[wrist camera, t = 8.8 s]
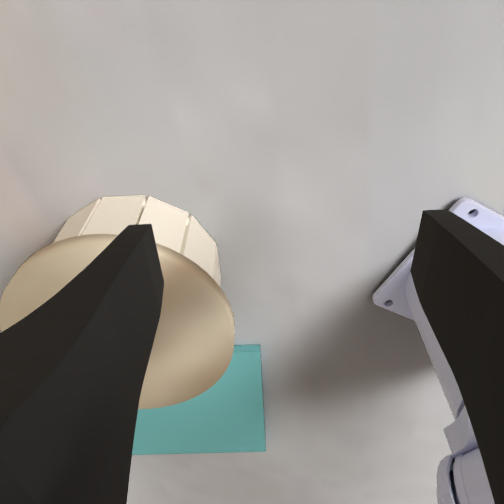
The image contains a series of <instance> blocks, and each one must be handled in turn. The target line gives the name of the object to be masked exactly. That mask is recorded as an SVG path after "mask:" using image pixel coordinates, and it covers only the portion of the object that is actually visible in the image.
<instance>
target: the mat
mask: <svg viewBox="0 0 504 504" xmlns="http://www.w3.org/2000/svg"><path fill="white" fill-rule="evenodd" d="M265 451H266V444H265V427H264V409H263V391H262V373H261V356H260V345H237V346H234V351H233V355H232V359H231V362H230V364H229V366H228V368H227V370H226V371H225V373H224V374H223V376H222V377H221V378H220V379H219V380H218V381H217V382H216V383H215V384H214V385H213V386H212V387H210V388H209V389H208V390H207V391H205V392H203V393H202V394H200V395H198V396H197V397H194V398H192V399H190V400H187V401H185V402H182V403H178V404H175V405H171V406H166V407H161V408H153V409H138V413H137V420H136V427H135V434H134V442H133V450H132V455H144V454H184V453H225V452H265Z"/></svg>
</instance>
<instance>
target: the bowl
mask: <svg viewBox="0 0 504 504" xmlns="http://www.w3.org/2000/svg"><path fill="white" fill-rule="evenodd" d="M188 214H189V213H188V212H186V211H184V210H181V209H179V208H177V207H174V206H172V205H169V204H167V203H165V202H162V201H160V200H158V199H155V198H153V197H151V196H149V197H148V198H146V197H145V195H136V196H113V197H102V199H100V198H98V199H97V200H95V201H94V202H92V203H91V204H89V205H88V206H86V207H85V208H83V209H82V210H80V211H78V212H77V213H75V214H74V215H72V216H71V217H69V219H68V220H67V221H66V223H65V224H64V226H63V227H62V229H61V231H60V232H59V234H58V235H57V237H56V239H55V240H54V242H57V241H60V240H63V239H66V238H70V237H75V236H81V235H90V234H115V235H119V234H120V233H121V232H122V231H123V230H124V229H125V228H126V227H127V226H128V225H138V224H152V229H153V233H154V238H155V242H156V243H157V244H160V245H163V246H165V247H168V248H170V249H172V250H174V251H176V252H178V253H180V254H182V255H184V256H185V257H187V258H188V259H190V260H192V261H193V262H195V263H196V264H197V265H199V266H200V267H201V268H202V269H203V270H205V271H206V272H207V273H208V274H209V275H210V276H211V277H212V278H213V279H214V280H215V281H216V282H217V284H218V285H219V286H220V280H221V274H220V265H219V257H218V248H217V246H216V243H215V242H214V241H213V239H212V238H211V237H210V236H209V235H208V233H207V232H206V231H205V230H204V229H203V228H202V226H201V225H200V224H199V223H198V222H197V220H196V219H195V218H194V217H193V216H192V215H191V216H189V215H188ZM54 242H53V243H54Z"/></svg>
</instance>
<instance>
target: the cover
mask: <svg viewBox="0 0 504 504" xmlns="http://www.w3.org/2000/svg"><path fill="white" fill-rule="evenodd" d="M117 236H118V235H115V234H90V235H81V236H75V237H70V238H66V239H63V240H60V241H57V242H54V243H52V244H50V245H48V246H45V247H43V248H41V249H40V250H38V251H37V252H35V253H34V254H33V255H31V256H30V257H29V258H28V259H27V260H26V261H25V262H24V263H23V264H22V265H21V266H20V268H19V269H18V271H17V272H16V273H15V275H14V276H13V278H12V279H11V281H10V282H9V284H8V285H7V287H6V288H5V290H4V293H3V295H2V297H1V301H0V328H1V332H3V331H4V330H6V329H8V328H9V327H11V326H12V325H14V324H15V323H17V322H19V321H20V320H22V319H23V318H24V317H26V316H27V315H29V314H30V313H31V312H33V311H34V310H35V309H37V308H38V307H40V306H41V305H42V304H44V303H45V302H46V301H47V300H49V299H50V298H51V297H53V296H54V295H55V294H56V293H58V292H59V291H60V290H61V289H62V288H63V287H64V286H66V285H67V284H68V283H69V282H70V281H71V280H72V279H73V278H75V277H76V276H77V275H78V274H79V273H80V272H81V271H82V270H84V269H85V268H86V267H87V266H88V265H89V264H90V263H91V262H92V261H93V260H94V259H95V258H96V257H97V256H98V255H99V254H100V253H101V252H102V251H103V250H104V249H105V248H106V247H107V246H108V245H109V244H110V243H111V242H112V241H113V240H114V239H115V238H116V237H117ZM156 247H157V252H158V256H159V261H160V265H161V270H162V274H163V279H164V290H163V299H162V307H161V315H160V319H159V323H158V327H157V331H156V335H155V339H154V343H153V347H152V350H151V354H150V358H149V362H148V366H147V370H146V374H145V377H144V381H143V385H142V390H141V395H140V400H139V406H138V409H153V408H161V407H166V406H171V405H175V404H178V403H182V402H185V401H187V400H190V399H192V398H194V397H197V396H198V395H200V394H202V393H203V392H205V391H207V390H208V389H209V388H210V387H212V386H213V385H214V384H215V383H216V382H217V381H218V380H219V379H220V378H221V377H222V376H223V374H224V373H225V371H226V370H227V368H228V366H229V364H230V362H231V359H232V355H233V351H234V332H235V323H234V316H233V312H232V309H231V306H230V303H229V301H228V299H227V297H226V295H225V293H224V292H223V291H222V289H221V288H220V286H219V285H218V284H217V282H216V281H215V280H214V279H213V278H212V277H211V276H210V275H209V274H208V273H207V272H206V271H205V270H203V269H202V268H201V267H200V266H199V265H197V264H196V263H195V262H193V261H192V260H190V259H188V258H187V257H185V256H184V255H182V254H180V253H178V252H176V251H174V250H172V249H170V248H168V247H165V246H163V245H160V244H157V243H156Z"/></svg>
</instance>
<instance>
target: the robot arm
mask: <svg viewBox="0 0 504 504" xmlns="http://www.w3.org/2000/svg"><path fill="white" fill-rule="evenodd" d="M473 209H475V211H474V212H473V213H471V214H468V213H469V211H471V210H473ZM163 290H164V279H163V274H162V270H161V265H160V261H159V256H158V252H157V247H156V242H155V238H154V233H153V229H152V224H138V225H128V226H127V227H126V228H125V229H124V230H123V231H122V232H121V233H120V234H119V235H118V236H117V237H116V238H115V239H114V240H113V241H112V242H111V243H110V244H109V245H108V246H107V247H106V248H105V249H104V250H103V251H102V252H101V253H100V254H99V255H98V256H97V257H96V258H95V259H94V260H93V261H92V262H91V263H90V264H89V265H88V266H87V267H86V268H85V269H84V270H82V271H81V272H80V273H79V274H78V275H77V276H76V277H75V278H73V279H72V280H71V281H70V282H69V283H68V284H67V285H66V286H64V287H63V288H62V289H61V290H60V291H59V292H58V293H56V294H55V295H54V296H53V297H51V298H50V299H49V300H47V301H46V302H45V303H44V304H42V305H41V306H40V307H38V308H37V309H35V310H34V311H33V312H31V313H30V314H29V315H27V316H26V317H24V318H23V319H22V320H20V321H19V322H17V323H15V324H14V325H12V326H11V327H9V328H8V329H6V330H4V331H3V332H1V333H0V504H126V502H127V492H128V483H129V474H130V465H131V457H132V450H133V442H134V434H135V427H136V420H137V413H138V406H139V400H140V395H141V390H142V385H143V381H144V377H145V374H146V370H147V366H148V362H149V358H150V354H151V350H152V347H153V343H154V339H155V335H156V331H157V327H158V323H159V319H160V315H161V307H162V299H163ZM372 299H373V302H374V304H375V305H377V306H380V307H382V308H384V309H387V310H389V311H392V312H394V313H396V314H399V315H401V316H404V317H406V318H409V319H411V320H413V321H415V323H416V325H417V328H418V330H419V333H420V335H421V338H422V340H423V342H424V345H425V347H426V350H427V352H428V355H429V357H430V360H431V362H432V365H433V367H434V370H435V372H436V374H437V377H438V379H439V382H440V384H441V387H442V389H443V392H444V394H445V397H446V399H447V401H448V404H449V406H450V409H451V411H452V414H453V416H454V419H455V421H454V422H453V423H452V424H451V425H449V426H447V427H446V428H444V433H445V435H446V438H447V441H448V443H449V446H450V449H451V451H452V454H450V455H448V456H446V457H444V458H443V459H442V460H441V461H440V463H439V466H438V470H437V502H438V504H504V216H502V215H500V214H498V213H496V212H494V211H493V210H491V209H489V208H487V207H485V206H483V205H481V204H479V203H477V202H476V201H474V200H472V199H470V198H462V199H459V200H458V201H457V202H456V203H455V204H454V205H453V206H452V207H451V208H450V209H449V210H447V209H445V210H425V211H423V213H422V218H421V223H420V227H419V232H418V237H417V242H416V246H415V248H414V249H413V250H412V252H411V253H410V254H409V255H408V256H407V257H406V258H405V259H404V260H403V262H402V263H401V264H400V265H399V266H398V267H397V268H396V269H395V270H394V272H393V273H392V274H391V275H390V276H389V277H388V278H387V279H386V280H385V282H384V283H383V284H382V285H381V286H380V287H379V288H378V289H377V290H376V292H375V293H374V294H373V296H372ZM387 300H390V301H389V302H385V301H387Z"/></svg>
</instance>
